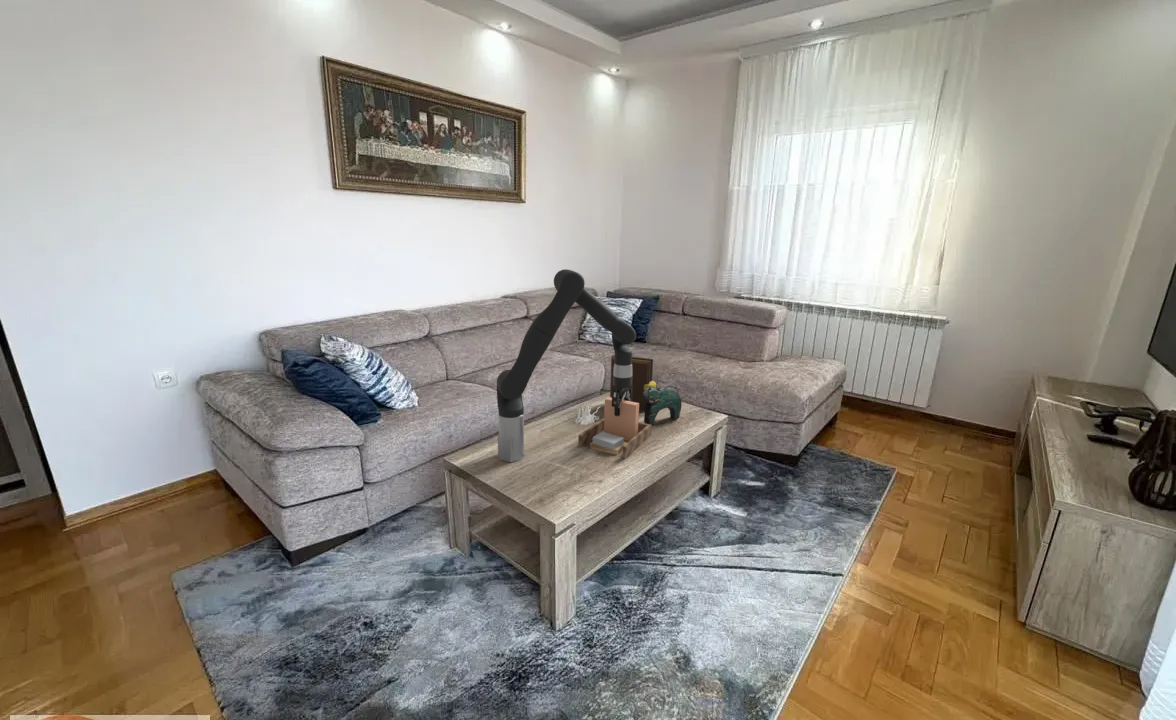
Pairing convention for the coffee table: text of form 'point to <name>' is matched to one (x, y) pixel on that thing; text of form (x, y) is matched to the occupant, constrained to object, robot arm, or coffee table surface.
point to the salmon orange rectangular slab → (621, 419)
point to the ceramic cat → (661, 403)
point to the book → (637, 379)
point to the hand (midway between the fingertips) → (621, 412)
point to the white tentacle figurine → (586, 415)
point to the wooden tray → (629, 447)
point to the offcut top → (608, 440)
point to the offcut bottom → (605, 449)
